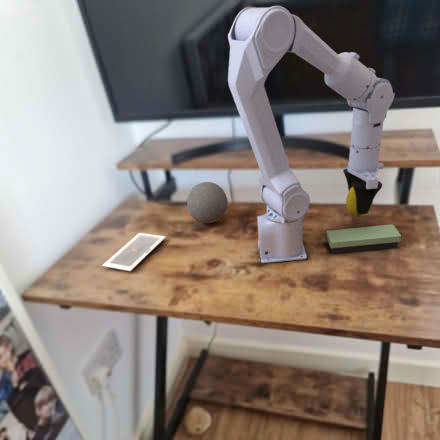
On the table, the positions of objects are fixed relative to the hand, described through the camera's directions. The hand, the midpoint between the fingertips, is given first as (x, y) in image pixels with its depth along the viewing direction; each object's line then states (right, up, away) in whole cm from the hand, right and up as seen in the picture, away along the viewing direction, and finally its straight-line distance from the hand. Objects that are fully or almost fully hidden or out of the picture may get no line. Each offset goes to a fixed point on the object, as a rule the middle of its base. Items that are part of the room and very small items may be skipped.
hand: (358, 207), depth 88 cm
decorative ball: (-33, -1, +15) cm, 36 cm away
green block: (0, -9, -3) cm, 9 cm away
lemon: (0, -2, +2) cm, 3 cm away
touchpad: (-50, -10, +6) cm, 51 cm away
